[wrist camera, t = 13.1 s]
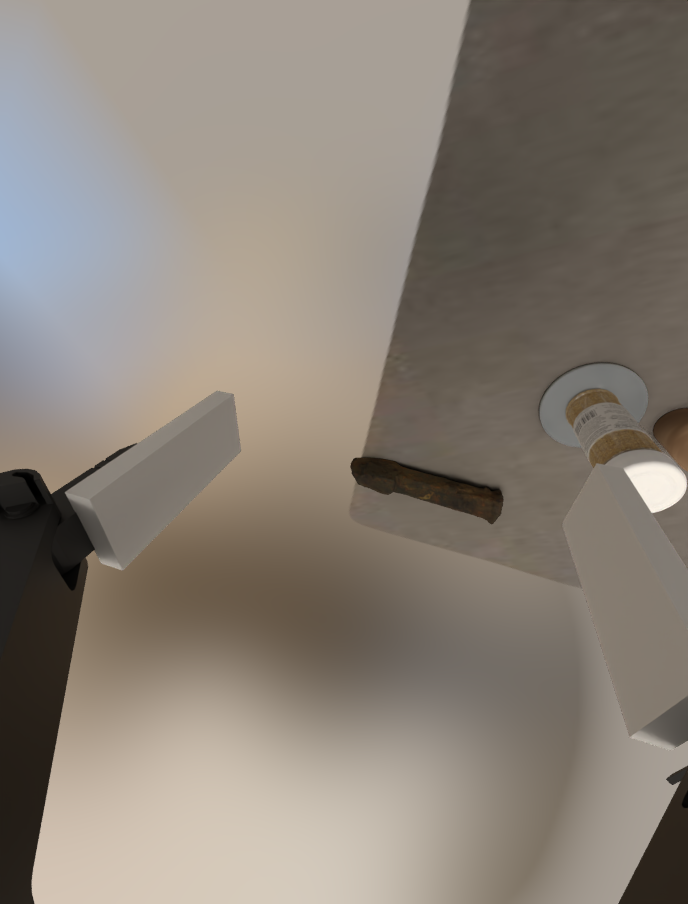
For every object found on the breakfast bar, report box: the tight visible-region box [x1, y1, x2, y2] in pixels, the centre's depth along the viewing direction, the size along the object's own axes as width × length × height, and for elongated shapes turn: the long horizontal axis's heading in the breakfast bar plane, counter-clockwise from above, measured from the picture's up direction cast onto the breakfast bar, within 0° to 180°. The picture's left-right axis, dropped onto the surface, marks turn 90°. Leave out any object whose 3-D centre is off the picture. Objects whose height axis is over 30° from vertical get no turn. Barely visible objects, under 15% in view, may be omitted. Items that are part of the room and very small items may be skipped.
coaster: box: [539, 362, 648, 448], centre depth 35 cm, size 9×9×1 cm
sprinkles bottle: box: [566, 389, 687, 513], centre depth 29 cm, size 5×5×14 cm
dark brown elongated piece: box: [351, 458, 503, 524], centre depth 44 cm, size 19×4×5 cm, turn 79°
